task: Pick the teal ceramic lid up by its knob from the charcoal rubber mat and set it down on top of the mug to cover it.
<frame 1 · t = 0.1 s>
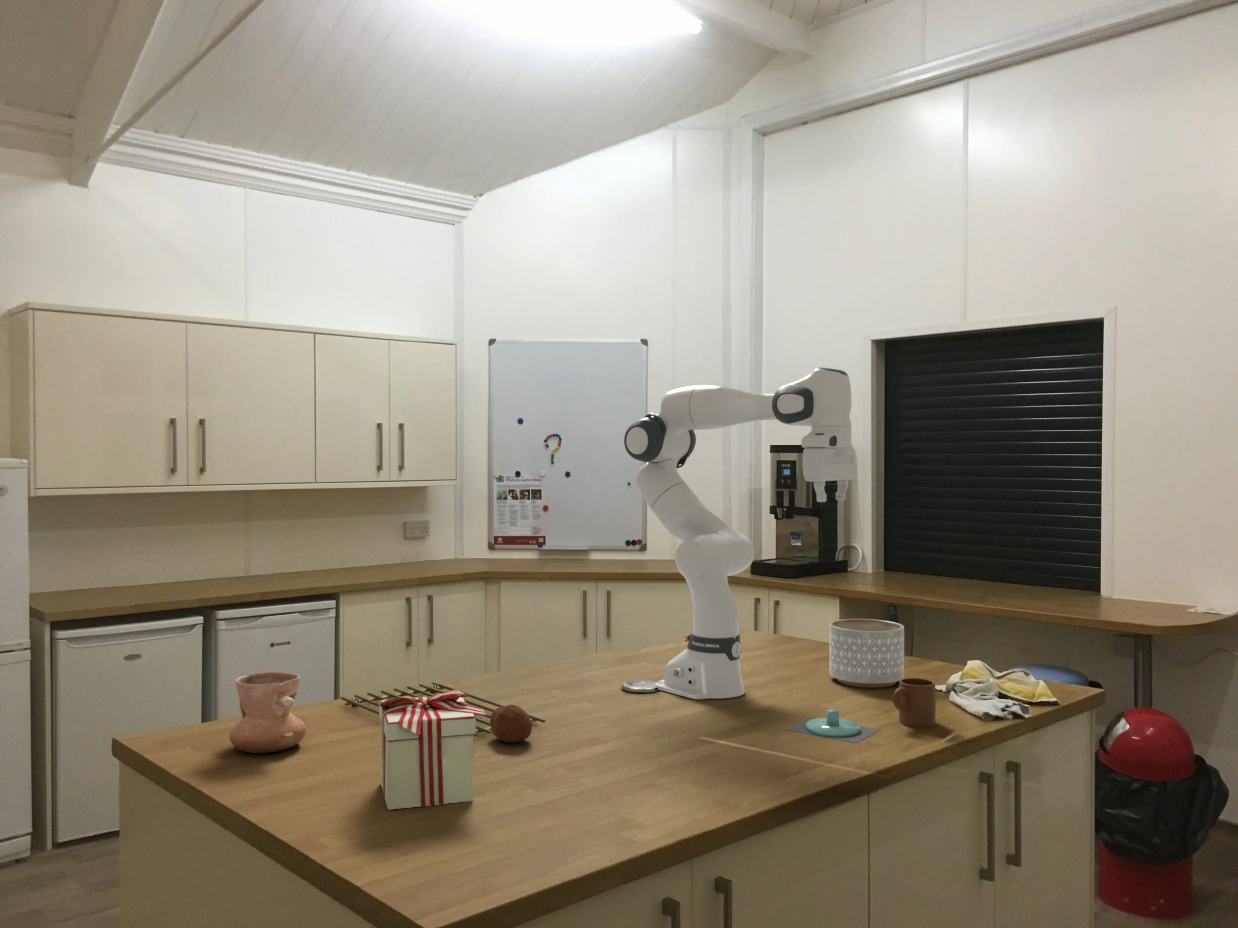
hand: (831, 500, 223), 48 cm above the counter, fingers open, 8 cm apart
mug: (911, 727, 213), on the counter
lid: (832, 729, 209), point 1 cm above the counter, touching mat
ceramic jug: (266, 747, 199), on the counter
gift box: (431, 795, 171), on the counter
planter: (866, 681, 255), on the counter
mat: (832, 732, 209), on the counter
potato: (511, 742, 203), on the counter
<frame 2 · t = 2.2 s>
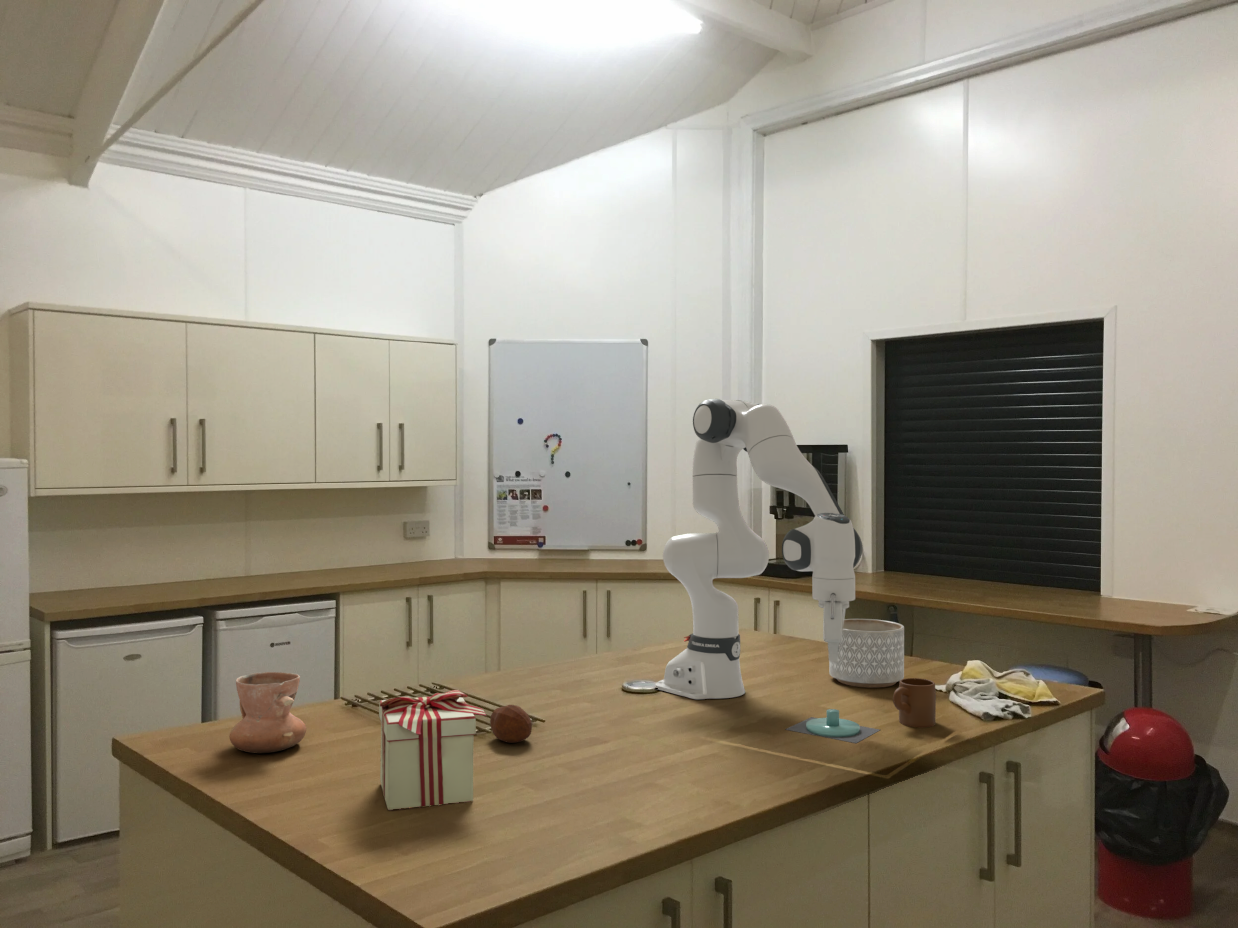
hand: (833, 656, 208), 16 cm above the counter, fingers open, 8 cm apart
nothing on the counter moved.
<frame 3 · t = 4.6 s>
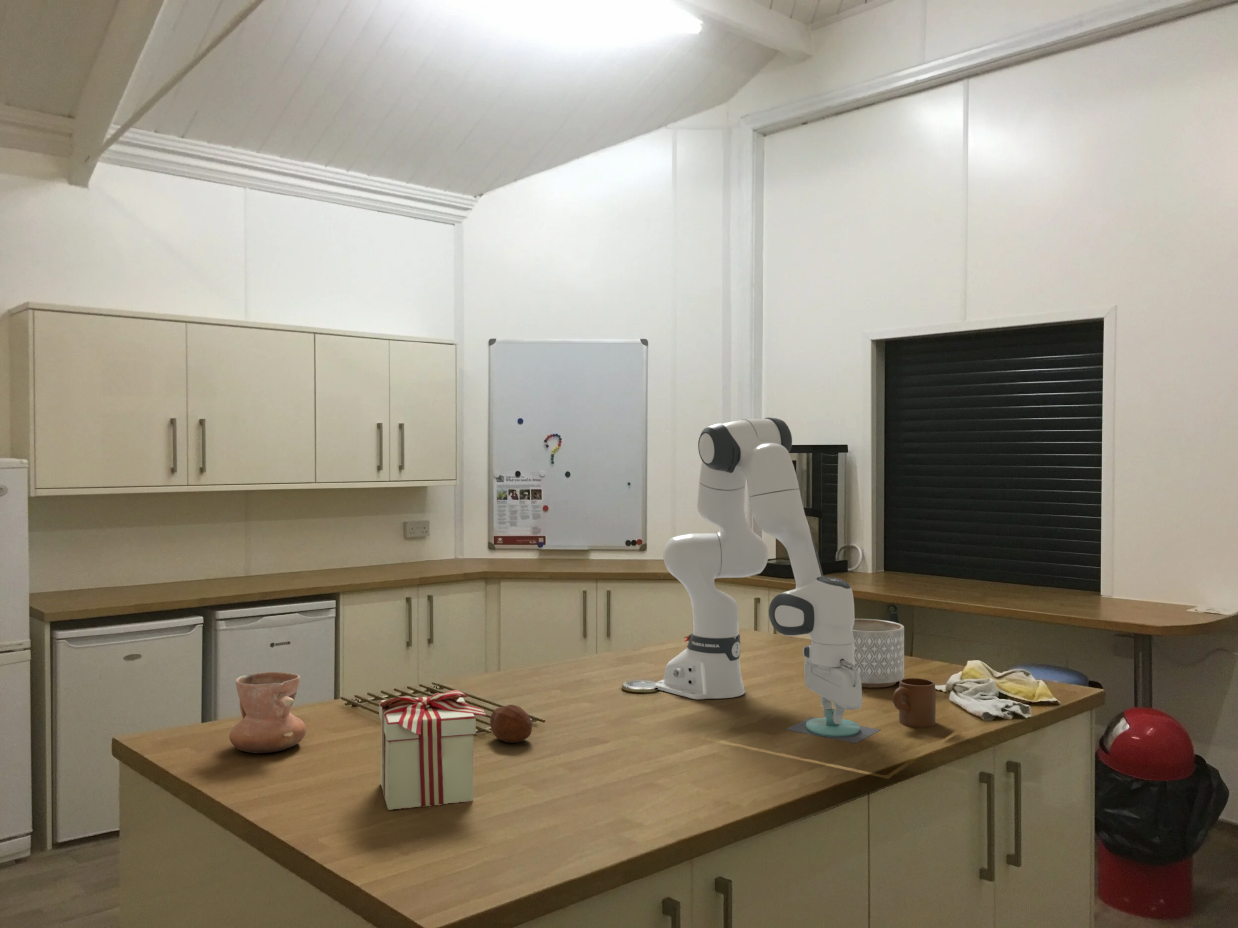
hand: (832, 720, 209), 2 cm above the counter, fingers closed on lid, 3 cm apart
lid: (832, 729, 209), point 1 cm above the counter, touching gripper, mat
everything else where it was.
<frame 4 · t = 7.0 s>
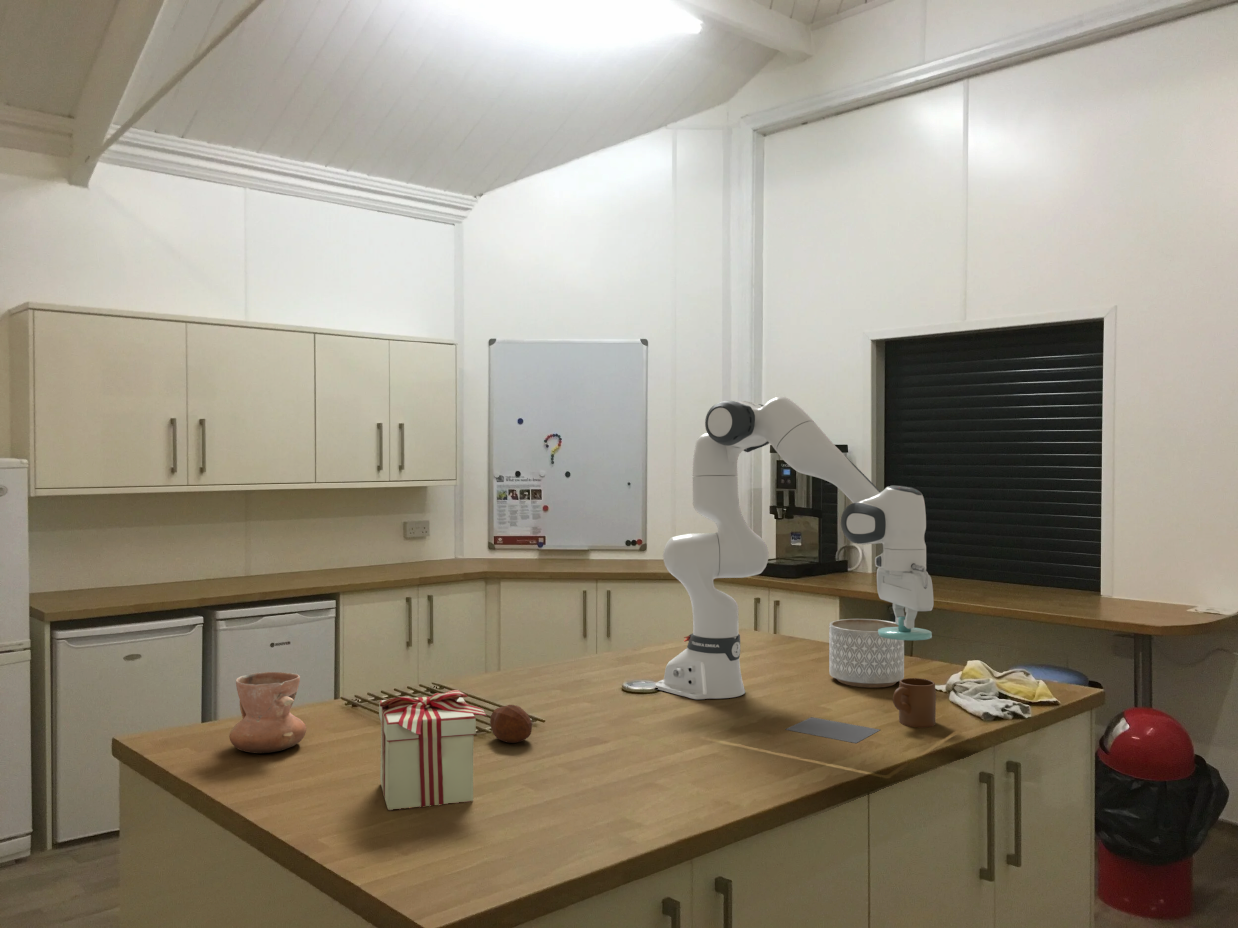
hand: (904, 626, 212), 22 cm above the counter, fingers closed on lid, 3 cm apart
lid: (904, 635, 212), point 20 cm above the counter, touching gripper
everything else where it was.
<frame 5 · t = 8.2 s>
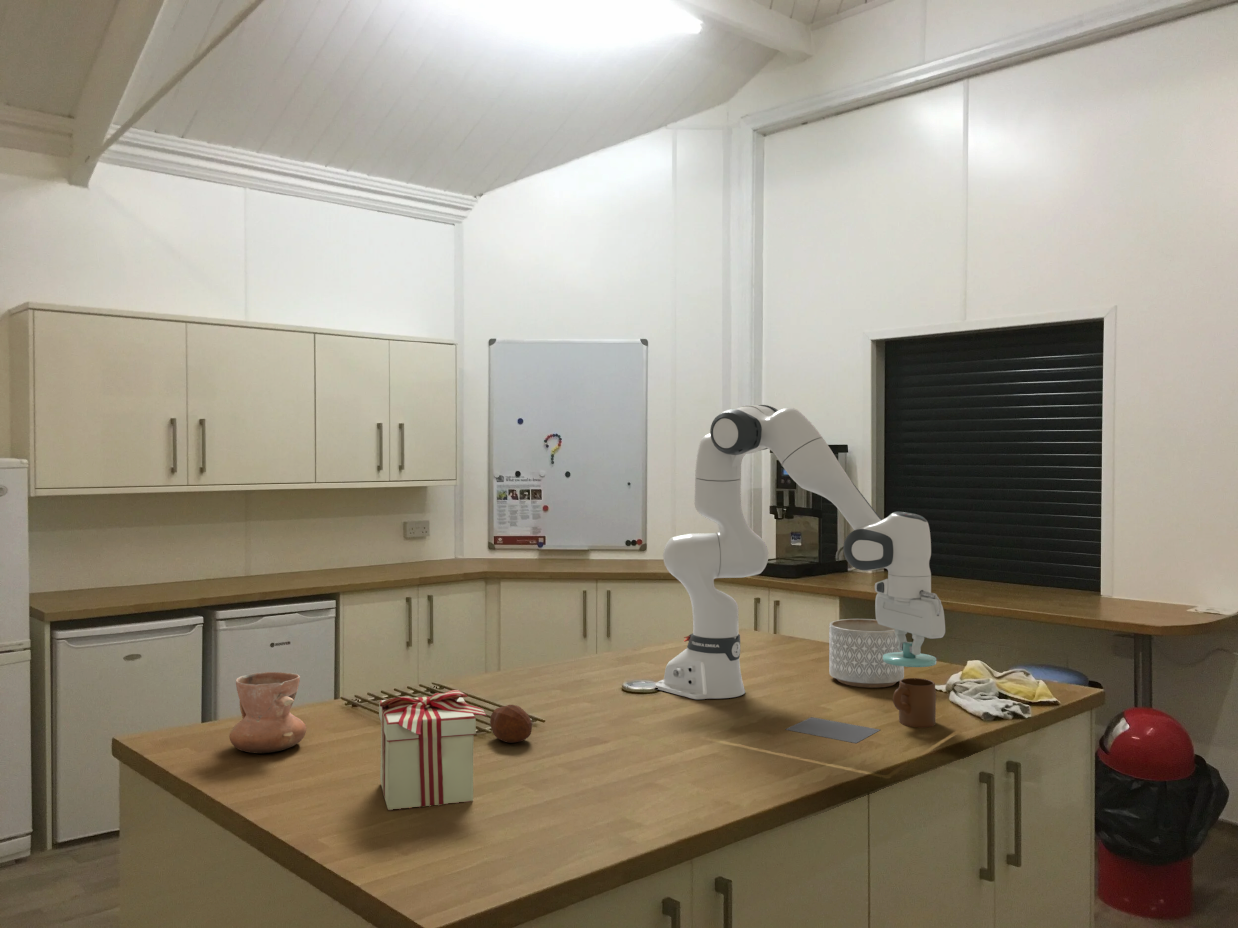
hand: (909, 652, 212), 16 cm above the counter, fingers closed on lid, 3 cm apart
lid: (909, 661, 212), point 14 cm above the counter, touching gripper
everything else where it was.
when the fingers open (12 cm above the counter, at t = 9.5 s): lid stays where it is, resting on mug.
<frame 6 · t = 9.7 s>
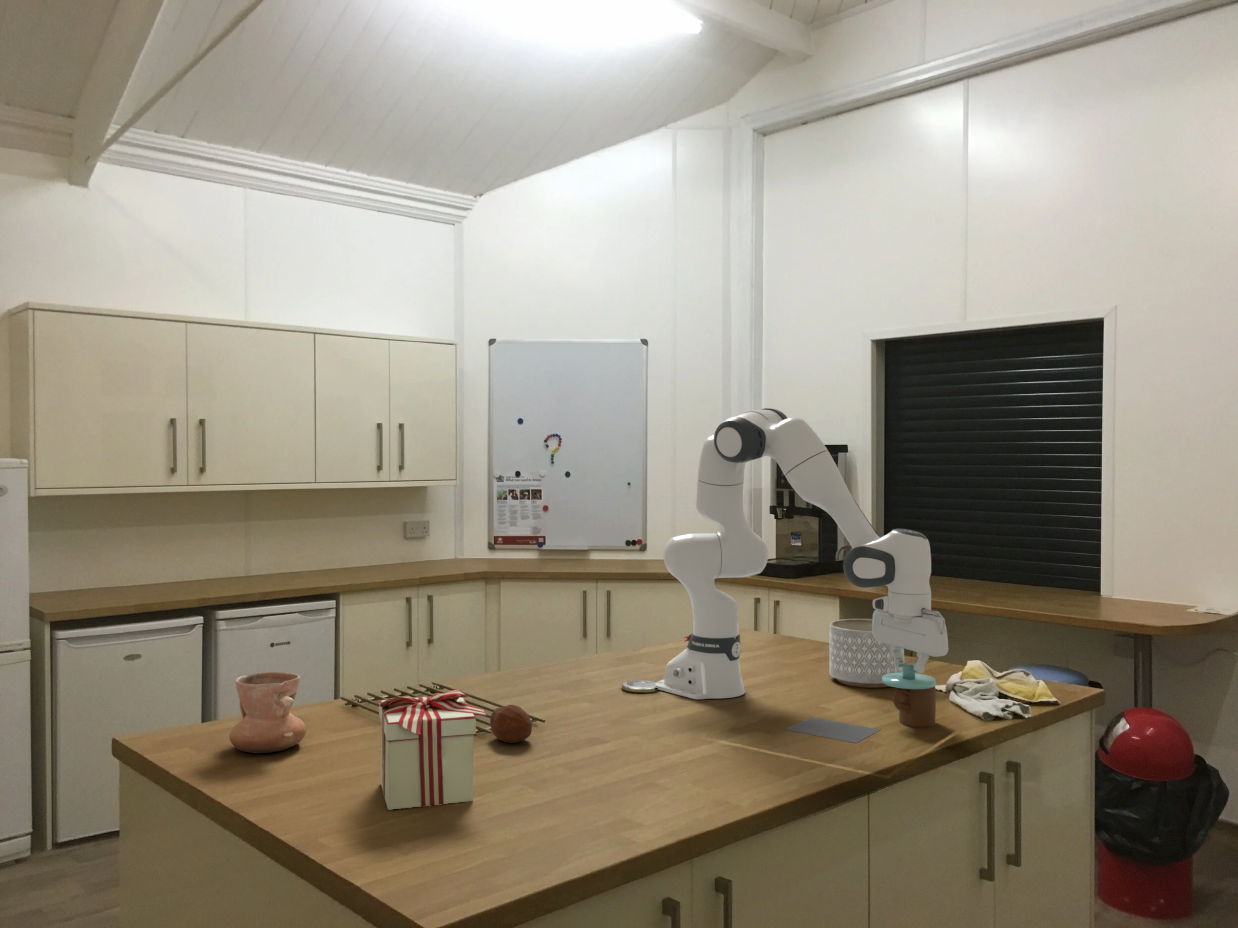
hand: (909, 669, 213), 12 cm above the counter, fingers open, 5 cm apart
mug: (911, 727, 213), on the counter, touching lid
lid: (908, 682, 213), point 9 cm above the counter, touching mug
everything else where it was.
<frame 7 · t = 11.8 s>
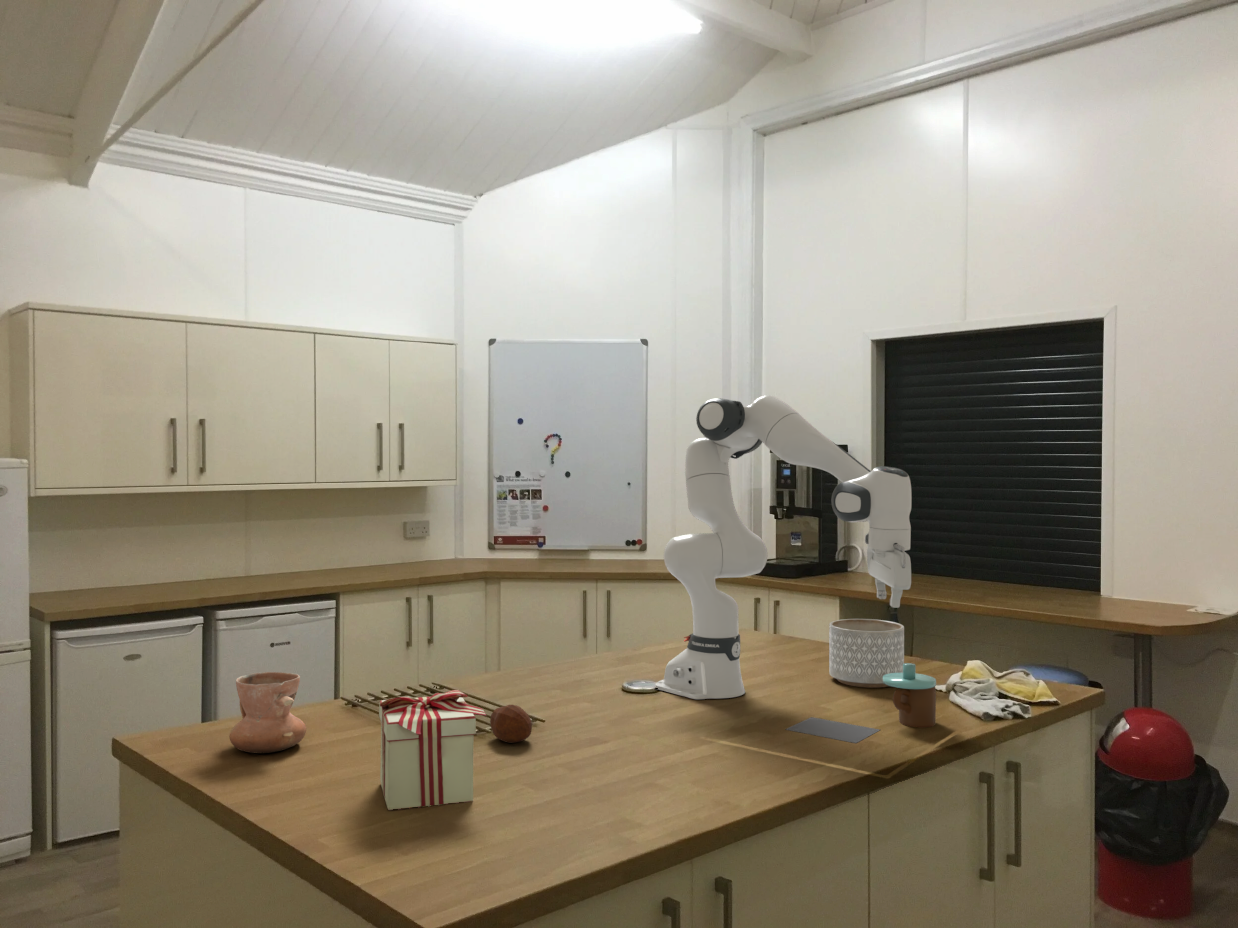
hand: (888, 602, 219), 26 cm above the counter, fingers open, 8 cm apart
nothing on the counter moved.
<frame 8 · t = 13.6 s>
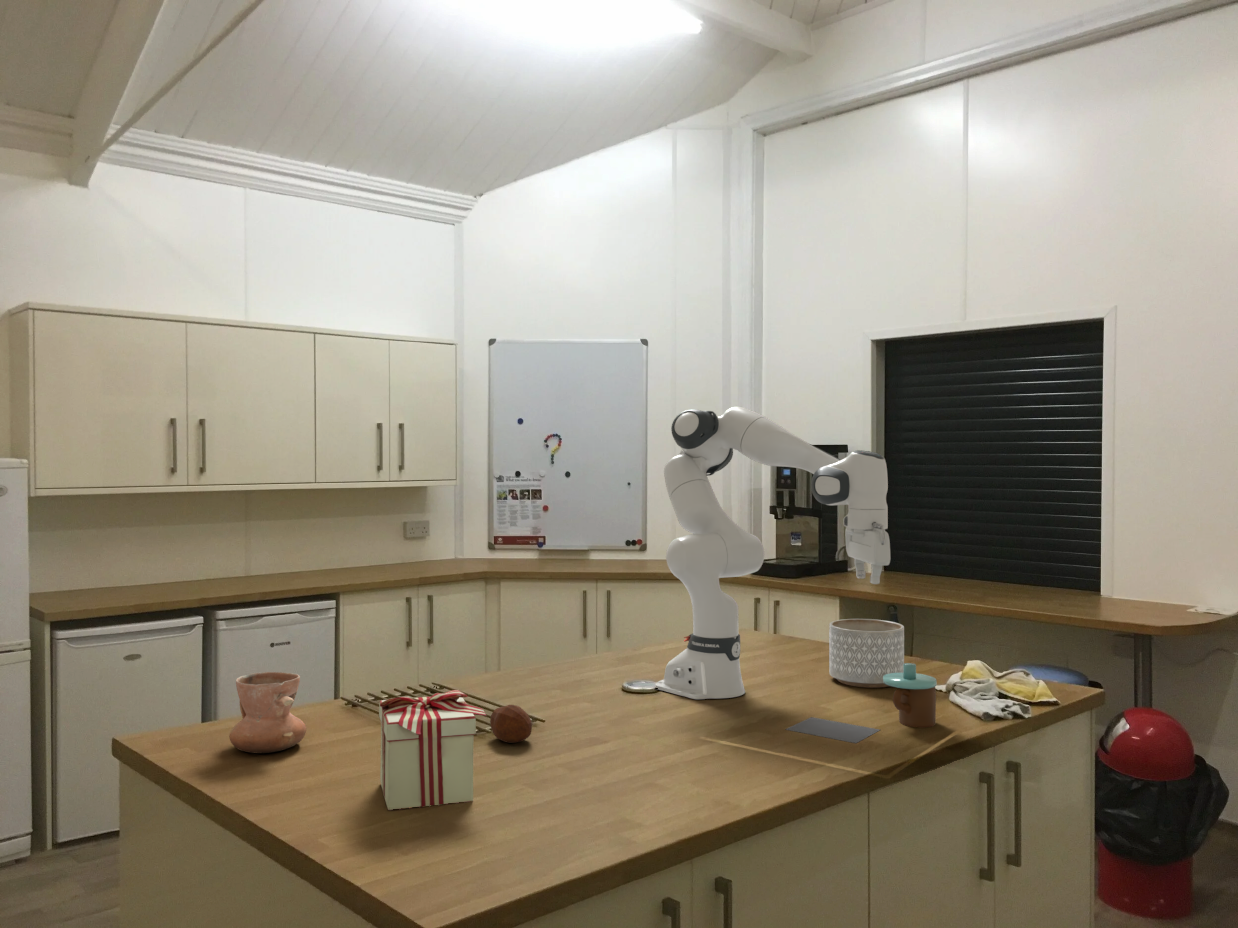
hand: (867, 580, 229), 29 cm above the counter, fingers open, 8 cm apart
nothing on the counter moved.
at the end: lid inside the target area on the mug (0.5 cm from its centre), point 9.6 cm above the mug's base; lid tilted 0°; the gripper is holding nothing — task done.
